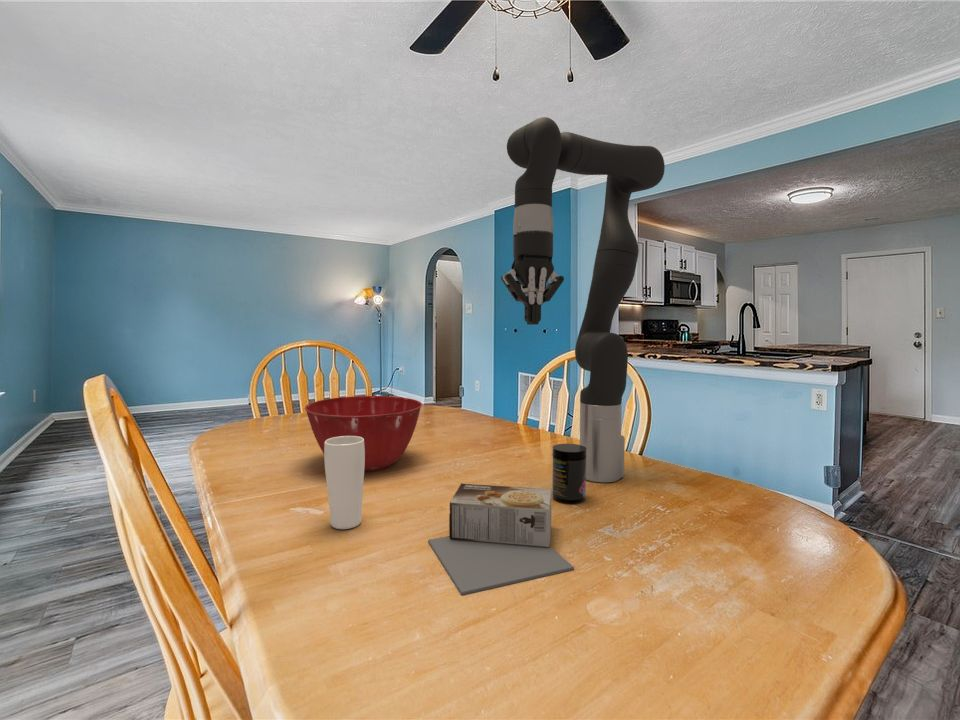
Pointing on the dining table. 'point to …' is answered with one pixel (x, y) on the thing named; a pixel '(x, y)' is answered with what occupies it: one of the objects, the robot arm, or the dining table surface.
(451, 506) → the coffee box
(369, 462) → the mixing bowl
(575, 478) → the supplement container
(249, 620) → the dining table surface
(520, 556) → the slate mat
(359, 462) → the drinking glass
